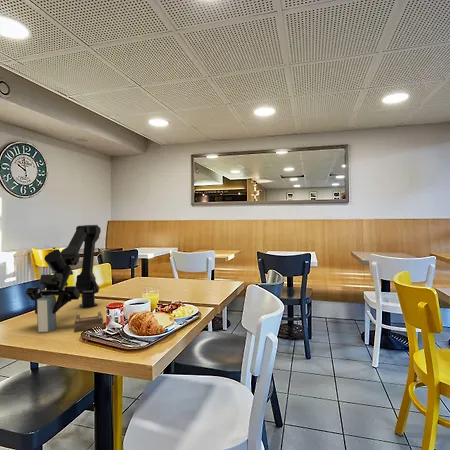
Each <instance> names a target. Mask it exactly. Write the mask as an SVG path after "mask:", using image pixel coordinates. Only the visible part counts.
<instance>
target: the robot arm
mask: <svg viewBox="0 0 450 450" xmlns="http://www.w3.org/2000/svg"><path fill="white" fill-rule="evenodd" d="M75 227H76V228H75V232H74V234H73V236H72V238H71V240H70V242H69V243H68V245H67V247H65V248H63V249H62V250H60V249H59V248H58V249H57V248H56V249H53V250H52V251H50V252H48V253H47V254H45V256H44V261H45V263H46V264H47V266H48V267H49V268H50V271H53V274H41V275H40V278H39V279H40V280H39V282H38V283H39V284H40V285H43V288H44V290H43V289H41V288H40V287H39V286H29V287H27V288H26V290H25V292H24V293H25V294H26V296H27V297H28V298H29V299H30V300H31V301H34V314H35V315H37V299H40V298H42V297H45V296H55V297H57V299H56V304H55V306H54V308H53V311H52V313H53V314H55V313H56V314H57V312H58V311H60V310H61V308H63V307H64V306H65V305H67V304H68V303H70V302H72V301H74V300H77V301H78V300H79V299H80V297H81V304H78V305H79V307H81V308H84V309H85V308H90V307H95V306H96V307H97V306H98V303H96V300H95V299H96V296H95V294H98V293H99V291H100V287H99V285H98V283H97V281H96V279H97V277H96V275H95V274H94V271H93V269H94V259H95V248H96V242H97V241H98V240H99V239H100V235H101V233H102V232H101V227H100V226H99V225H98V224H84V225H77V226H75ZM83 244H84V245H83ZM82 246H83V254H82V265H81V272H80V273H79V274H77V276H76V280H75V281H76V282H75V285H70V286H68V285H69V284H68V283H69V282H68V280H69V277H70V276H73V274H74V272H73V270H72V268H71V266H72V267H73V266H77V265H78V263H79V262H80V253H79V252H80V250H81V248H82ZM45 289H46V290H45Z"/></svg>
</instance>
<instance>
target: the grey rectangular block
mask: <svg viewBox="0 0 450 450" xmlns="http://www.w3.org/2000/svg"><path fill="white" fill-rule="evenodd" d="M56 297H57V296H44V297H42V298H40V299H37V314H36V318H37V321H36V322H37V333H38V334H39V333H50V332H52V331H53V330H55V329H56V328H57V312H56V313H55V314H53V313H52V311H53V308H54V306H55V304H56V301H57V299H56Z"/></svg>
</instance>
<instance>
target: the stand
mask: <svg viewBox="0 0 450 450" xmlns="http://www.w3.org/2000/svg"><path fill="white" fill-rule="evenodd" d="M80 316H81V314H76V315H75V319H74V327H73V332H74V333H78V332H85V331H89V330H88V329H91V328H95V327H100V328H99V329H104V328H105V325H104V323H105V321H104V318H103V314H102V311H97V315H94V316H87V317H80Z"/></svg>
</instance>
